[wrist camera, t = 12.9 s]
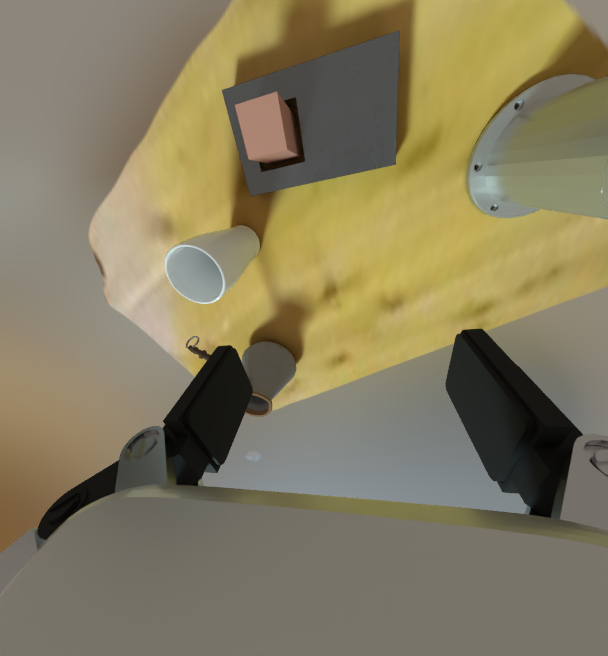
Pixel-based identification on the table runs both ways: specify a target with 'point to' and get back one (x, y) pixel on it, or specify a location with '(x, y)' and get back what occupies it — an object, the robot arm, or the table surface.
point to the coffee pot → (262, 372)
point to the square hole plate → (330, 114)
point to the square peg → (268, 129)
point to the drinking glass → (211, 263)
